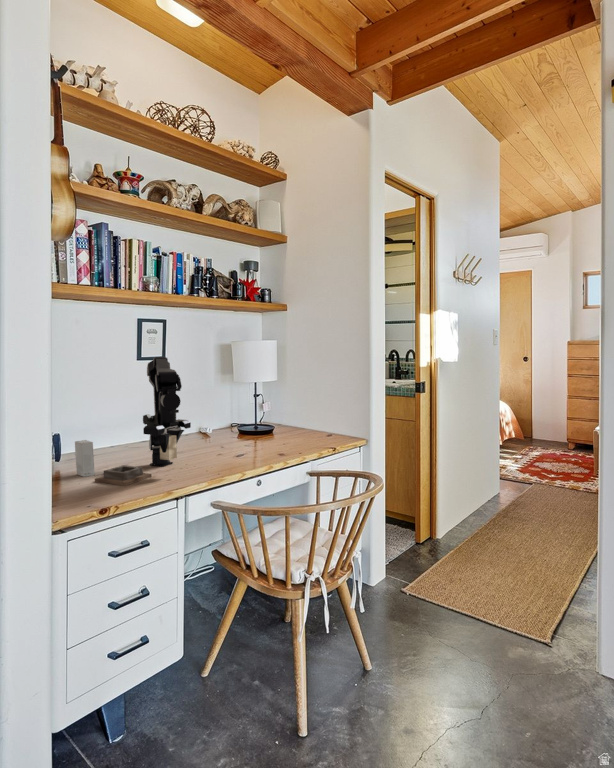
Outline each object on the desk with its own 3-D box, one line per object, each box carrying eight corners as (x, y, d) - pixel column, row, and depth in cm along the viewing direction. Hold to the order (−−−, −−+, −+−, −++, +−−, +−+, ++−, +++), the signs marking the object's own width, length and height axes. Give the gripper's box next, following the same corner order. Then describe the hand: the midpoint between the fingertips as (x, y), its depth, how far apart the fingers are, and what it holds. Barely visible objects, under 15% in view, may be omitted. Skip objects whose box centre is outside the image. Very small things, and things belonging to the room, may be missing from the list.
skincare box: (95, 475, 176) (94, 441, 175) (82, 477, 173) (81, 443, 172) (87, 472, 180) (86, 439, 180) (75, 474, 177) (74, 441, 176)
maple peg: (167, 456, 176) (167, 434, 176) (176, 457, 175) (176, 435, 174) (160, 459, 173) (159, 436, 172) (169, 460, 171) (168, 437, 171)
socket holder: (123, 473, 179) (122, 463, 179) (151, 476, 174) (151, 466, 174) (94, 481, 167) (94, 471, 167) (124, 485, 162) (124, 475, 162)
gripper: (166, 403, 184) (167, 445, 185) (130, 408, 167) (131, 454, 168) (191, 404, 180) (191, 447, 181) (156, 410, 163) (157, 457, 164)
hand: (168, 451), depth 174 cm, fingers closed on maple peg, 4 cm apart
